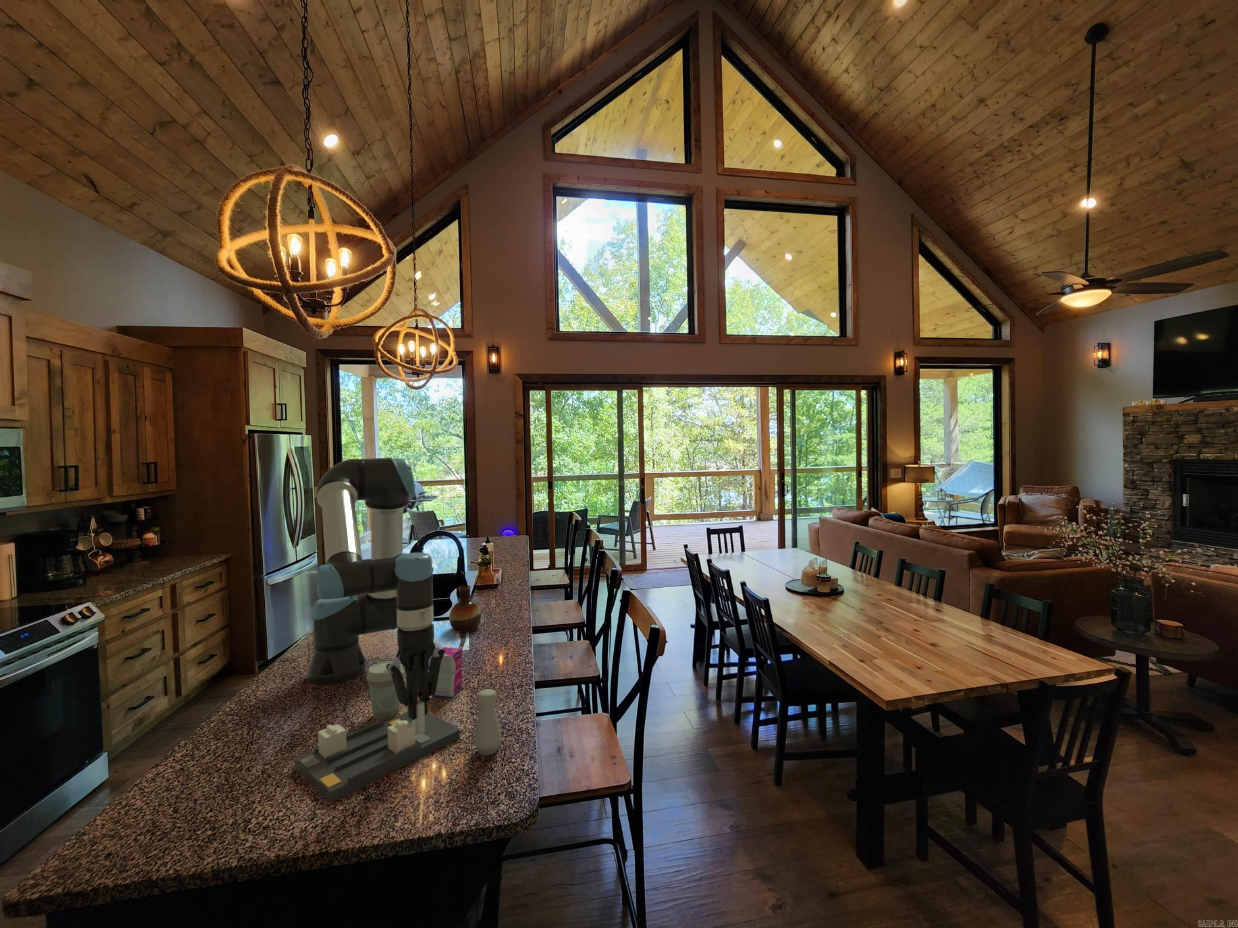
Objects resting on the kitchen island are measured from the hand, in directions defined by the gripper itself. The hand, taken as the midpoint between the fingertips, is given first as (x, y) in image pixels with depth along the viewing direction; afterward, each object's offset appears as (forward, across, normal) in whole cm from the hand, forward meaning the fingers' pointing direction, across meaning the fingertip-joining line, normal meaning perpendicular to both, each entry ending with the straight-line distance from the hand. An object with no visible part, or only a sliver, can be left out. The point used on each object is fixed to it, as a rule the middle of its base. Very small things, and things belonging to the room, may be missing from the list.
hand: (418, 730), depth 117 cm
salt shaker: (+4, +9, -12) cm, 16 cm away
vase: (+4, +52, +58) cm, 78 cm away
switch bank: (+4, -6, +5) cm, 9 cm away
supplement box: (+4, +19, +18) cm, 27 cm away
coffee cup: (+4, +3, +20) cm, 21 cm away
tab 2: (+2, -4, 0) cm, 4 cm away
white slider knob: (+2, -14, +10) cm, 17 cm away
